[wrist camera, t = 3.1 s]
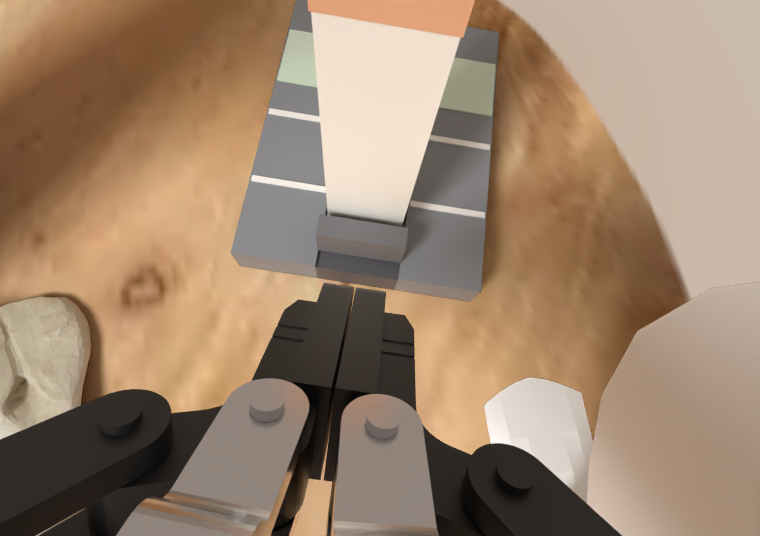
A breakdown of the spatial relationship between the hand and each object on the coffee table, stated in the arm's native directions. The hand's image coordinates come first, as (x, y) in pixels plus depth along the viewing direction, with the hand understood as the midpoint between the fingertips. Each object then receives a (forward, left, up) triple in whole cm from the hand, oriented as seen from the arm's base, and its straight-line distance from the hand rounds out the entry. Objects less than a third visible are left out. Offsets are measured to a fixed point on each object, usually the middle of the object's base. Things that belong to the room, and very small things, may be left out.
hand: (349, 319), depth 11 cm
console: (0, +12, -12) cm, 17 cm away
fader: (0, +8, -9) cm, 12 cm away
